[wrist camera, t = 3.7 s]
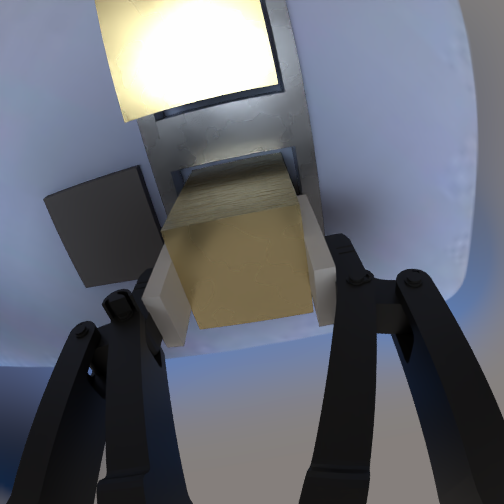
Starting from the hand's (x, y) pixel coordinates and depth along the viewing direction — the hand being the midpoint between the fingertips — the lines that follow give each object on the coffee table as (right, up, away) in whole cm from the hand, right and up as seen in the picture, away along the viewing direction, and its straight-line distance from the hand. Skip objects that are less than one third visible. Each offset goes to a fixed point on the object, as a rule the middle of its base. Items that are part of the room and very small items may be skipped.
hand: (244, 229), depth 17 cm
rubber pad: (-10, 0, +4) cm, 11 cm away
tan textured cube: (0, +2, +3) cm, 4 cm away
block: (-2, +10, -2) cm, 11 cm away
